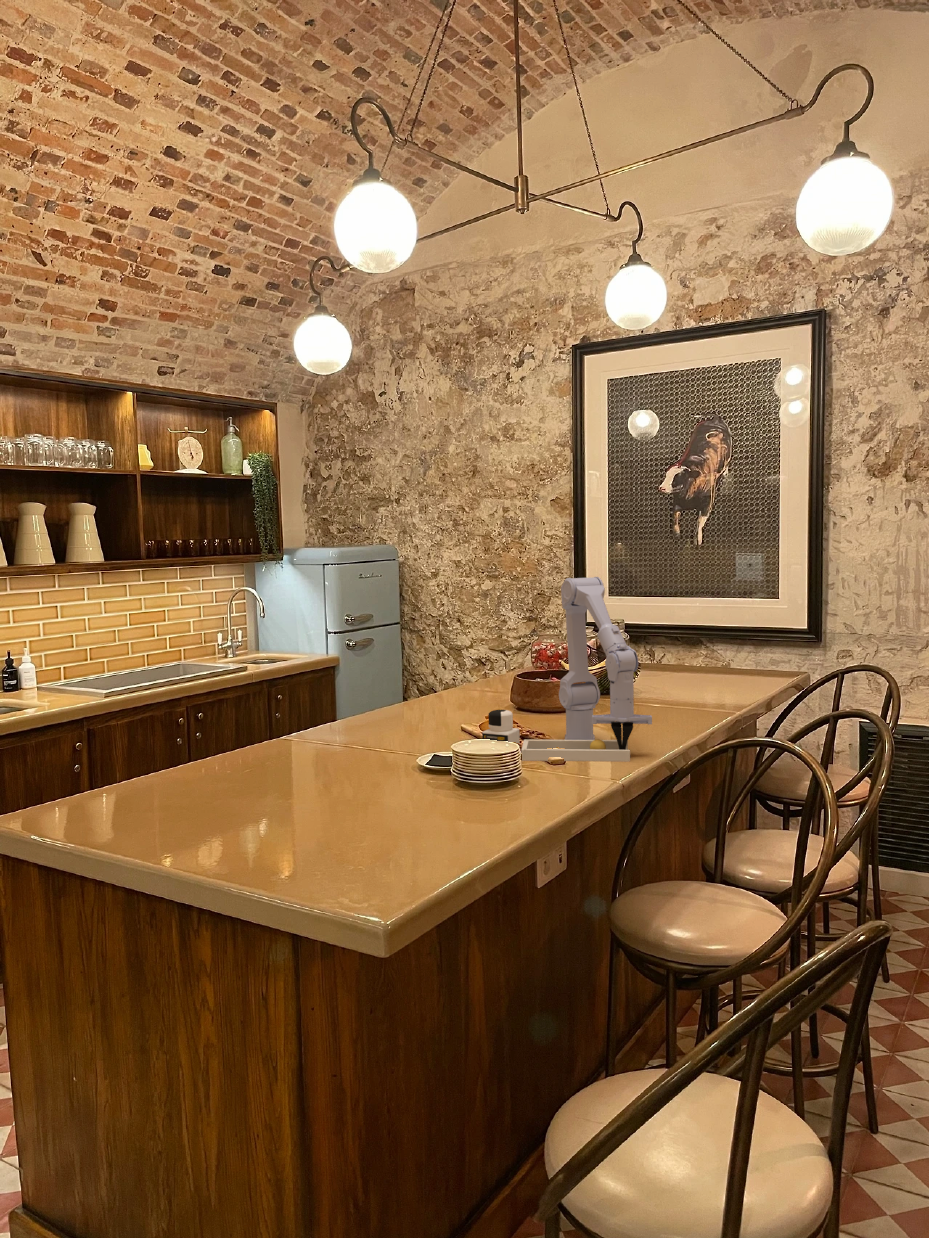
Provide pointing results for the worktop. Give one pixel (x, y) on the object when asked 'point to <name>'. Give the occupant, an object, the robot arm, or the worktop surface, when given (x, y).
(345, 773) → the worktop surface
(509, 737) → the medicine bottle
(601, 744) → the ball
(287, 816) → the worktop surface
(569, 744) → the lane
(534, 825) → the worktop surface
